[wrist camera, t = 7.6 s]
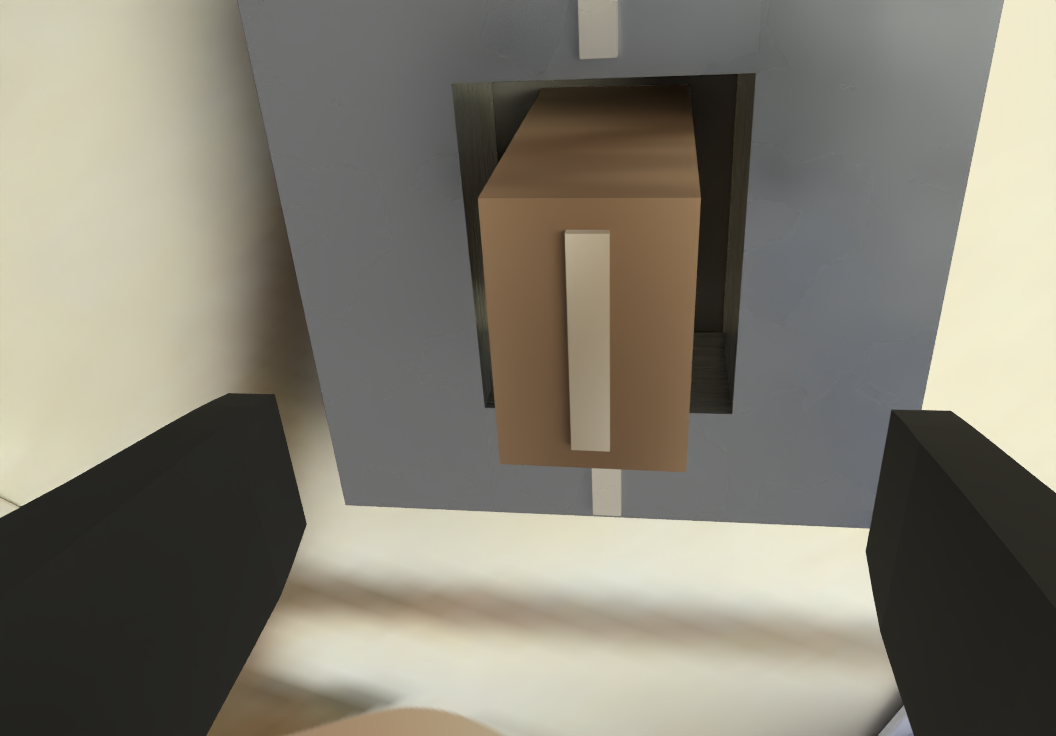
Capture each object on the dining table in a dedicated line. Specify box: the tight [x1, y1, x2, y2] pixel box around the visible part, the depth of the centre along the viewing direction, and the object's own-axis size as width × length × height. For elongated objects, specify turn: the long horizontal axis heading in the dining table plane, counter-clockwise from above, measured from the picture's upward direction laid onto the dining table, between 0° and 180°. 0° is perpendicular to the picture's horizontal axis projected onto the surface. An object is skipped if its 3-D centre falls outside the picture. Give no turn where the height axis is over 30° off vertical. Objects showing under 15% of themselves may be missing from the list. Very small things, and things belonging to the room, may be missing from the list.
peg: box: [478, 85, 701, 472], centre depth 15 cm, size 3×4×7 cm, turn 3°
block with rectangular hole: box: [238, 0, 1004, 528], centre depth 17 cm, size 12×12×4 cm
